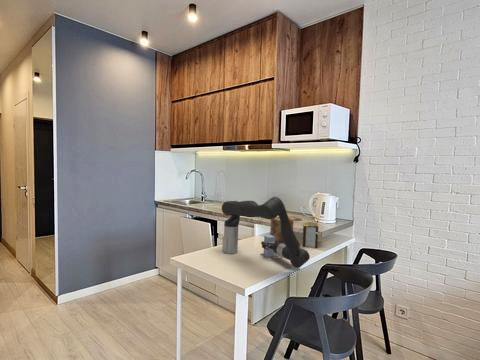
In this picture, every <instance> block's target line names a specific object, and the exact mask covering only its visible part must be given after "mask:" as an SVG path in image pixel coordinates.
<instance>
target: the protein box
mask: <svg viewBox="0 0 480 360" xmlns="http://www.w3.org/2000/svg"><path fill="white" fill-rule="evenodd" d="M302 226H303V227H302V247H303V248H309V247H311V249H318V243H319V234H318V235H317V234H315V232H318V233H319V224H318V222H315V221H314V222H311V221H303V225H302Z"/></svg>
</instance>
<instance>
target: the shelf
mask: <svg viewBox="0 0 480 360" xmlns="http://www.w3.org/2000/svg"><path fill="white" fill-rule="evenodd" d="M288 218H289V221H290V224H291V227H292V230H293V231H294V222H300V221H301V222H302V221H303V218H300V217H297V216H293V215H288ZM269 229H270V230H269V231H270V232H269V235H272V236H274V237H275V241H282V242H284V241H283V239H282V236H281V222H280V218H279V216H277V217H275V218H274V219H270V228H269ZM299 244H300V247H299V248H301V249H302V244H301V243H299Z"/></svg>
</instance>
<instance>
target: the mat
mask: <svg viewBox="0 0 480 360" xmlns="http://www.w3.org/2000/svg"><path fill="white" fill-rule="evenodd" d="M260 255H261V256H262V257H264V258H265V259H272V258H278V256H279V255H278V254H275V255H274V256H266V255H264V252H262V253H260Z"/></svg>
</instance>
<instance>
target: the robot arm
mask: <svg viewBox="0 0 480 360" xmlns="http://www.w3.org/2000/svg"><path fill="white" fill-rule="evenodd" d="M221 212H222V213H223V215H225V216H229V218H228V219H226V220H225V221H224V227H223V236H222V244H221V246H222V249H221V251H222V252H223V253H224V254H227V255H228V254H231V255H232V254H237V253H238V252H239V251H238V249H239V248H238V247H239V223H240V220H241V219H240V218H241V216H242V217H250V218H251V217H253V218H261V219H266V220H271V219H274V218H275V217H279V218H280V222H281V236H282V239H283V241H284V242H282V241H275V243H265V242H264V240H263V241H261V243H260V244H261V247H262V248H263V250H264V249H266V250H268V249H272V250H273V251H274V252H275V255H277V256H280V257H282V258H283V259H284V258H285V260H287V261H288V260H289V261H290V264H291V265H292V266H293V267H294V268H295V269H299V268H301V267H303V265H305V264H306V263H307V262H308V261H309V260H310V257H311V255H310V254H309V251H307V250H306V249H305V248H302V247H301V248H299V247H300V244H301V243H300V242H299V240H298V238H297V235H295V233H294V229H293V230H292V227H291V224H290V221H289V218H288V216H289V215H288V212H287V210H286V206H285V204H284V202H283V201H282V199H281V198H279V197H278V196H273V197H270V199H268V200H266V201H265V202H264V203H262V204H260V205H259V203H257V202H256V201H254V200H242V201H238V200H227V201H224V202H223V203H222V204H221ZM266 244H267V245H266ZM269 244H270V246H269Z"/></svg>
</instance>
